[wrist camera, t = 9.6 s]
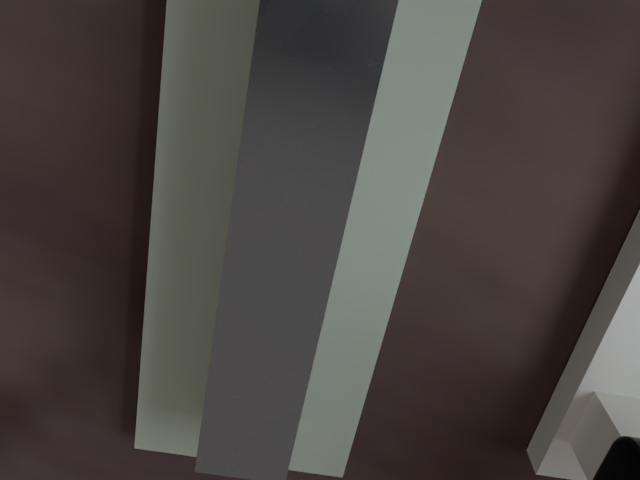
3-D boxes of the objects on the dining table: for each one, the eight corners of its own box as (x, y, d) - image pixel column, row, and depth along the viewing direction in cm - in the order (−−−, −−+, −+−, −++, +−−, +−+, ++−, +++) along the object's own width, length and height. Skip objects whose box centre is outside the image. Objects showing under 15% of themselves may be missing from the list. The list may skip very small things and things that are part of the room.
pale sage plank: (341, 461, 24) (342, 477, 23) (139, 432, 23) (134, 448, 23) (597, -431, 13) (614, -452, 12) (214, -536, 12) (207, -566, 11)
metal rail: (288, 429, 22) (284, 484, 20) (207, 417, 22) (194, 471, 20) (465, -353, 13) (496, -415, 10) (323, -390, 12) (323, -462, 10)
